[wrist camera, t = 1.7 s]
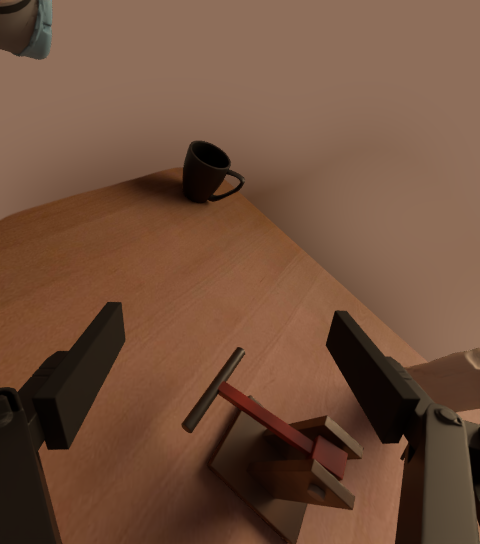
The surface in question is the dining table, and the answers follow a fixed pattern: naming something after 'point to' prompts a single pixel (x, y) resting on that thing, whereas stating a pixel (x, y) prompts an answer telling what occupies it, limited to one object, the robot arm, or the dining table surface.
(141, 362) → the dining table surface
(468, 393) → the candle
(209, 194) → the mug
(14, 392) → the robot arm
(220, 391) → the red lever
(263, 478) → the rod stand
